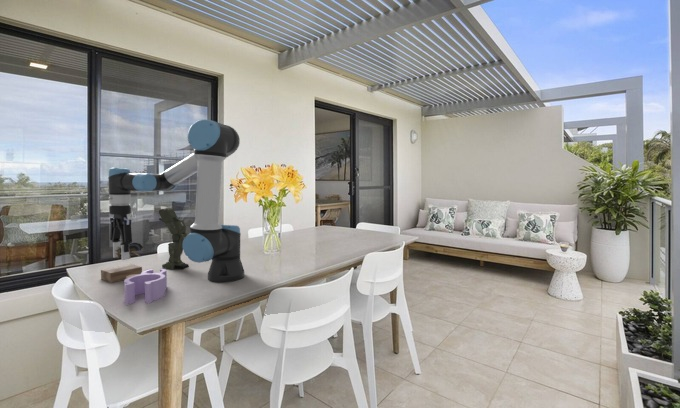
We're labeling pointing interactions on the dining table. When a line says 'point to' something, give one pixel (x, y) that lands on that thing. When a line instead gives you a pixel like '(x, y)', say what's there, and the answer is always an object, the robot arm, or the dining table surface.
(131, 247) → the eagle figurine
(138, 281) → the clip
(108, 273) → the plinth
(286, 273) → the dining table surface
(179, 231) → the mechanical leg
